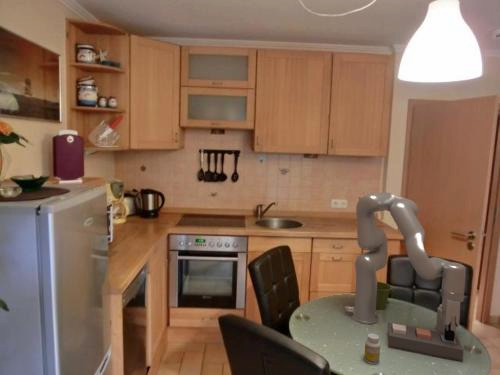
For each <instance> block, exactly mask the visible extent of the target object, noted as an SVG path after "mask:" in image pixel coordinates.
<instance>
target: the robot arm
mask: <svg viewBox="0 0 500 375" xmlns="http://www.w3.org/2000/svg"><path fill="white" fill-rule="evenodd" d="M355 208H356V210H355V211H356V212H355V213H356V233H357V234H356V236H357V237H356V238H357V245H358V247H359V248H360V249H362V250H364V251H366V252H362V253H361V254H358V256H356V259H355V261H354V267H355V290H354V291H355V294H354V295H355V296H354V305H352V306H349V305H344V310H345V311H346V313H350V317H351V319H352V320H354V321H356V322H357V323H360V324H366V325H373V324H377V323H378V322H379V321H380V320H379V316H378V315H377V314H376V313H377V311H376V310H377V309H376V298H377V282H378V278H377V272H378V271H380V270H383V269H384V268H385V267H386V266H387V263H388V258H389V257H388V254H389V253H388V238H387V234H386V233H385V231H384V230H383V229H382V228H379V227H377V219H376V216H375V213H378V212H382V211H387V212H389V213H390V216H391V217H392V219H393V221H394V223H395V225H396V226H397V229H398V230H399V231H400V234H401V235H402V237H403V239H404V241H405V249H406V253H407V256H408V259H409V262H410V263H411V265H412V267H413V269H414V270H415V272H416V274H417V275H418V276H419V278H421V279H423V280H425V281H432V280H435V279H436V278H439V277H440V278H442V280H441V281H442V283H441V292H440V294H441V295H440V296H441V298H442V301H441V304H442V309H441V318H442V320H443V323H444V324H445V333H444V338H445V340H450V341H454V336H455V334H456V333H455V325H456V328H458V327H460V318H461V303H462V302H464V298H465V297H464V296H465V287H466V286H465V285H466V284H465V283H466V274H467V269H466V267H465V265H463V263H459V262H454V261H449V260H446V259H443V258H441V257H437V256H432V257H430V256H428V254H427V252H426V250H425V246H424V240H425V236H426V235H425V234H426V231H425V229H424V227H423V226H422V224H421V223H420V221H419V219H418V217H417V216H418V214H419V206H418V205H417V203H416V202H414V201H413V200H412V199H409V198H406V197H403V196H400V195H398V194H394V193H391V192H386V191H383V192H373V193H367V194H365V195H363V196H362V197H361V198H360V199H359V200H358V202H357V204H356V206H355Z"/></svg>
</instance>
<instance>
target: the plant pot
mask: <svg viewBox="0 0 500 375" xmlns="http://www.w3.org/2000/svg"><path fill="white" fill-rule="evenodd" d="M392 289H393V287H392V286H391V285H390V284H388V283H387V282H383V281H377V298H376V310H379V309H380V310H385V309H386V307H387V303H388V299H389V294H390V293H391V291H392Z"/></svg>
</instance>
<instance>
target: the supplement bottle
mask: <svg viewBox="0 0 500 375" xmlns="http://www.w3.org/2000/svg"><path fill="white" fill-rule="evenodd" d="M380 355H381V342H380V337H379V335H378V334H375V333H368V334H367V339H366V340H365V342H364V360H365V362H366V363H367V364H371V365H377V364H378V365H379V363H380V359H381V357H380Z"/></svg>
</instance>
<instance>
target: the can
mask: <svg viewBox="0 0 500 375" xmlns="http://www.w3.org/2000/svg"><path fill="white" fill-rule="evenodd" d="M441 309H442V303H441V304H439V306H438V307H437V314H436V325H435V329H436V330H435V331H440V332H445V324H444V323H443V320H442V318H441ZM456 332H457V327H456V325H455V334H456Z"/></svg>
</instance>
